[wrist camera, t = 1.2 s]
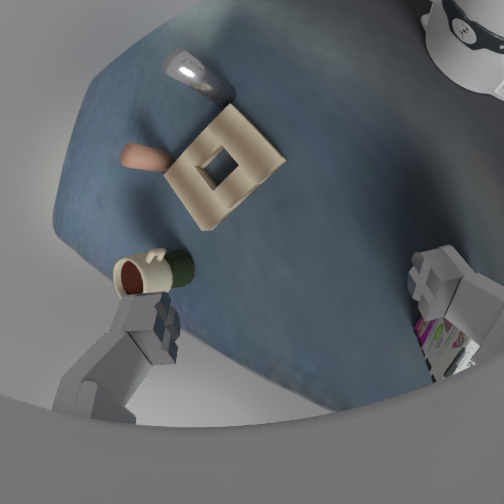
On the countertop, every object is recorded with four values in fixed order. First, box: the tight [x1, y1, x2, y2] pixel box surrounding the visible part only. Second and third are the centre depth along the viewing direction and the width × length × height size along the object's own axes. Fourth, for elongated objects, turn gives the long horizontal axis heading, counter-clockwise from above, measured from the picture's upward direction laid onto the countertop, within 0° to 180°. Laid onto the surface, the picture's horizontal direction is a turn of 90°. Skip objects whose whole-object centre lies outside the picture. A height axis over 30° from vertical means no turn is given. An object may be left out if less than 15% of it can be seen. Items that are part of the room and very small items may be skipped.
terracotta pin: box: [121, 143, 173, 173], centre depth 43 cm, size 4×4×9 cm
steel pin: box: [162, 49, 236, 107], centre depth 35 cm, size 4×4×14 cm
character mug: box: [113, 248, 194, 299], centre depth 42 cm, size 11×7×13 cm, turn 144°
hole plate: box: [164, 104, 287, 231], centre depth 41 cm, size 16×12×3 cm
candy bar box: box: [413, 315, 480, 383], centre depth 25 cm, size 11×5×16 cm, turn 158°
